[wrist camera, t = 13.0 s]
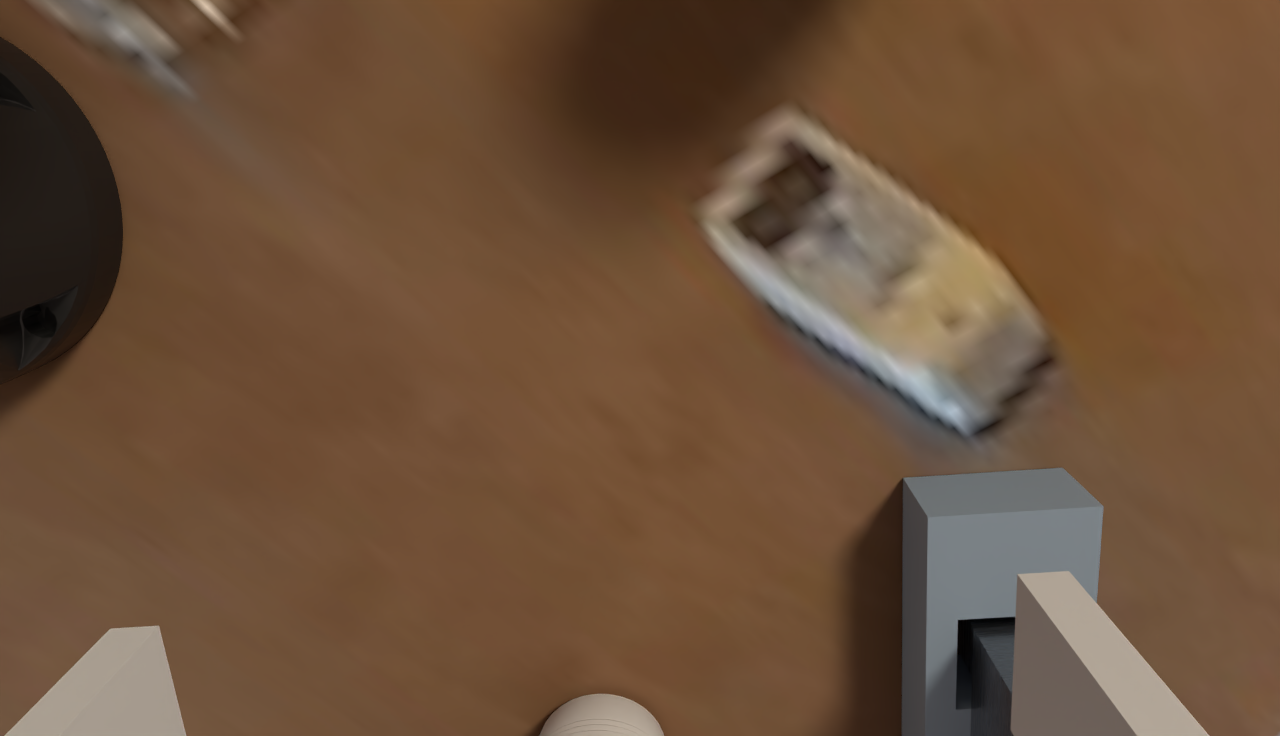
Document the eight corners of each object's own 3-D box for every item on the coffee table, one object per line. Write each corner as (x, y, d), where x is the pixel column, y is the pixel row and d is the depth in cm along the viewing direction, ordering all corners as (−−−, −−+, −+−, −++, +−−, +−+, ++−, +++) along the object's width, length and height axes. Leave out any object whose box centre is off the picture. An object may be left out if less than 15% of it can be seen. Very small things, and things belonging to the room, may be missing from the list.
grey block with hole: (900, 876, 49) (922, 943, 45) (902, 477, 42) (927, 517, 39) (1039, 868, 49) (1073, 936, 45) (1062, 467, 42) (1103, 506, 38)
